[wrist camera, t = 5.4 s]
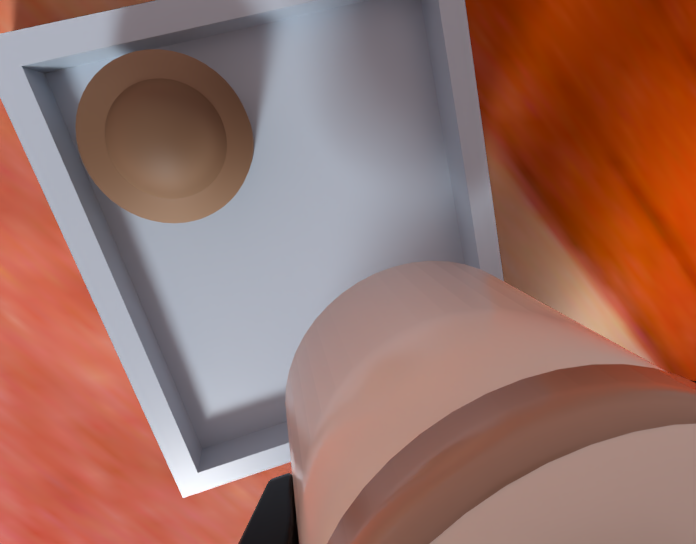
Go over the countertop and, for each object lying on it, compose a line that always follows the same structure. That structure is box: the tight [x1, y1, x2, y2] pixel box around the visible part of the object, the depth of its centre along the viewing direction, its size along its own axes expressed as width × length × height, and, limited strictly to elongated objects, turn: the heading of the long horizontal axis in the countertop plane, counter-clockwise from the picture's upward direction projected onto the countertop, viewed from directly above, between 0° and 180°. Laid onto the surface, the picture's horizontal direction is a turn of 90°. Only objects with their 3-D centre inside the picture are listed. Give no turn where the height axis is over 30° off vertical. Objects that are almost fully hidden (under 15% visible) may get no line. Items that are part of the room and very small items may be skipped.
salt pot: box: [75, 49, 254, 223], centre depth 12 cm, size 4×4×4 cm
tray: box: [0, 0, 504, 498], centre depth 15 cm, size 15×13×2 cm
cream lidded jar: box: [285, 261, 696, 544], centre depth 7 cm, size 6×6×7 cm
